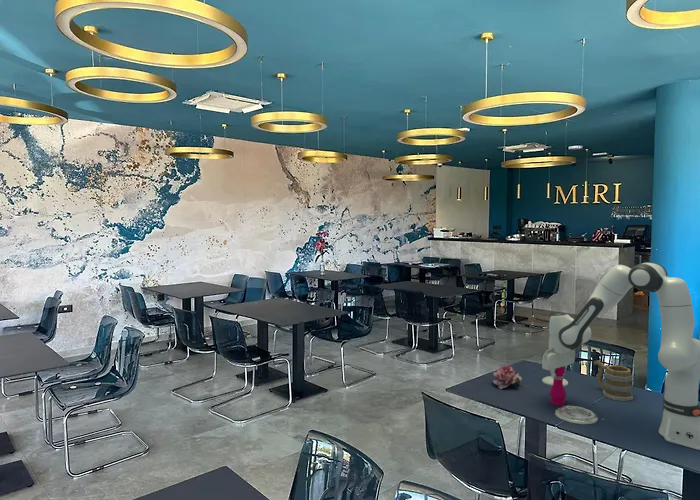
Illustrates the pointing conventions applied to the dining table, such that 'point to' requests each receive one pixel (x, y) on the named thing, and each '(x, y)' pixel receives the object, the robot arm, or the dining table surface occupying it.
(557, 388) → the pepper mill
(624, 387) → the tankard
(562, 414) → the silver metal plate
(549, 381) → the candlestick
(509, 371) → the flower
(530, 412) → the dining table surface
